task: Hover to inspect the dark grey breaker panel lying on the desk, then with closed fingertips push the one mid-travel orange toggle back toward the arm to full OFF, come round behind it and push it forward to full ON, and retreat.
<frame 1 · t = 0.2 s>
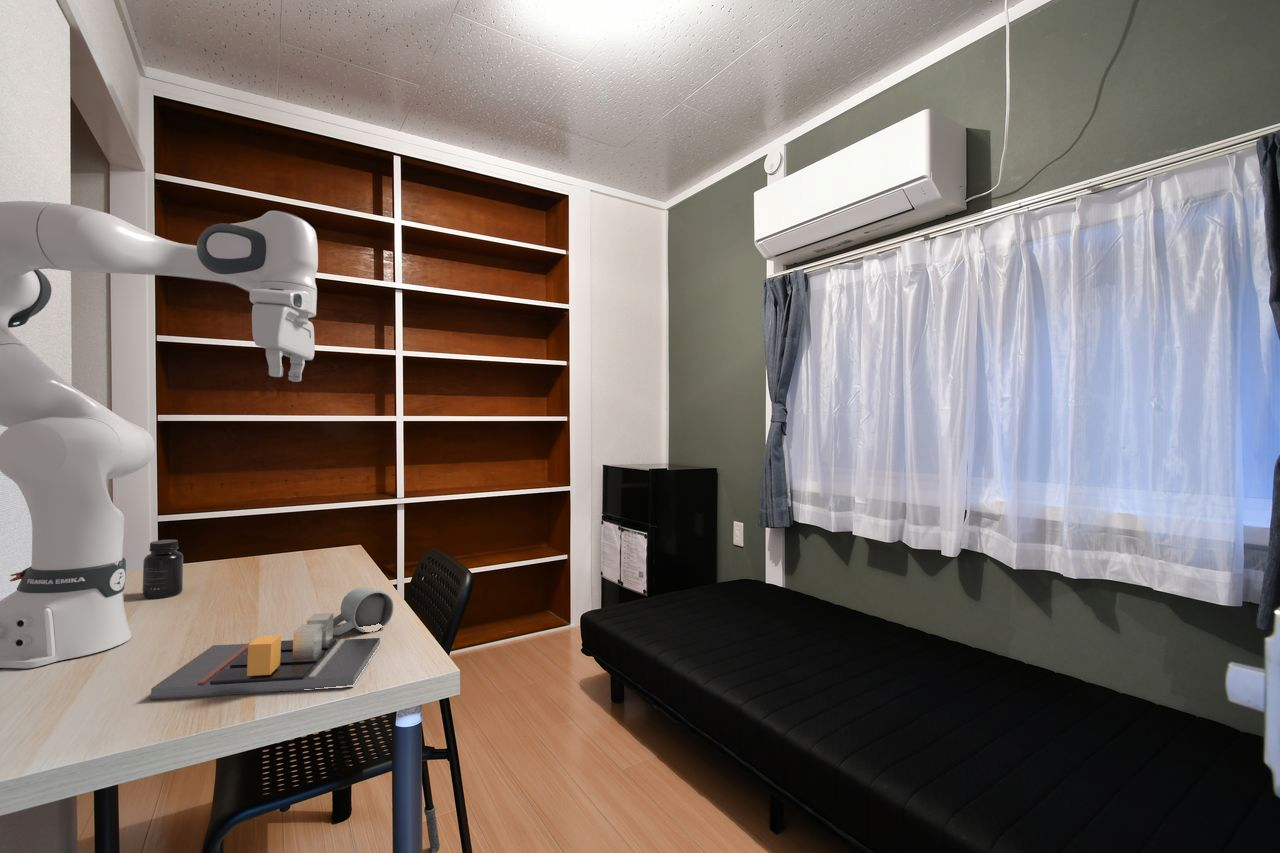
hand: (285, 379, 102), 47 cm above the table, fingers open, 8 cm apart
ceramic mug: (358, 630, 107), on the table
supplement bottle: (162, 595, 124), on the table
tripped toggle: (264, 655, 83), point 5 cm above the table, slide at 4.0 cm
breaker panel: (279, 670, 88), on the table
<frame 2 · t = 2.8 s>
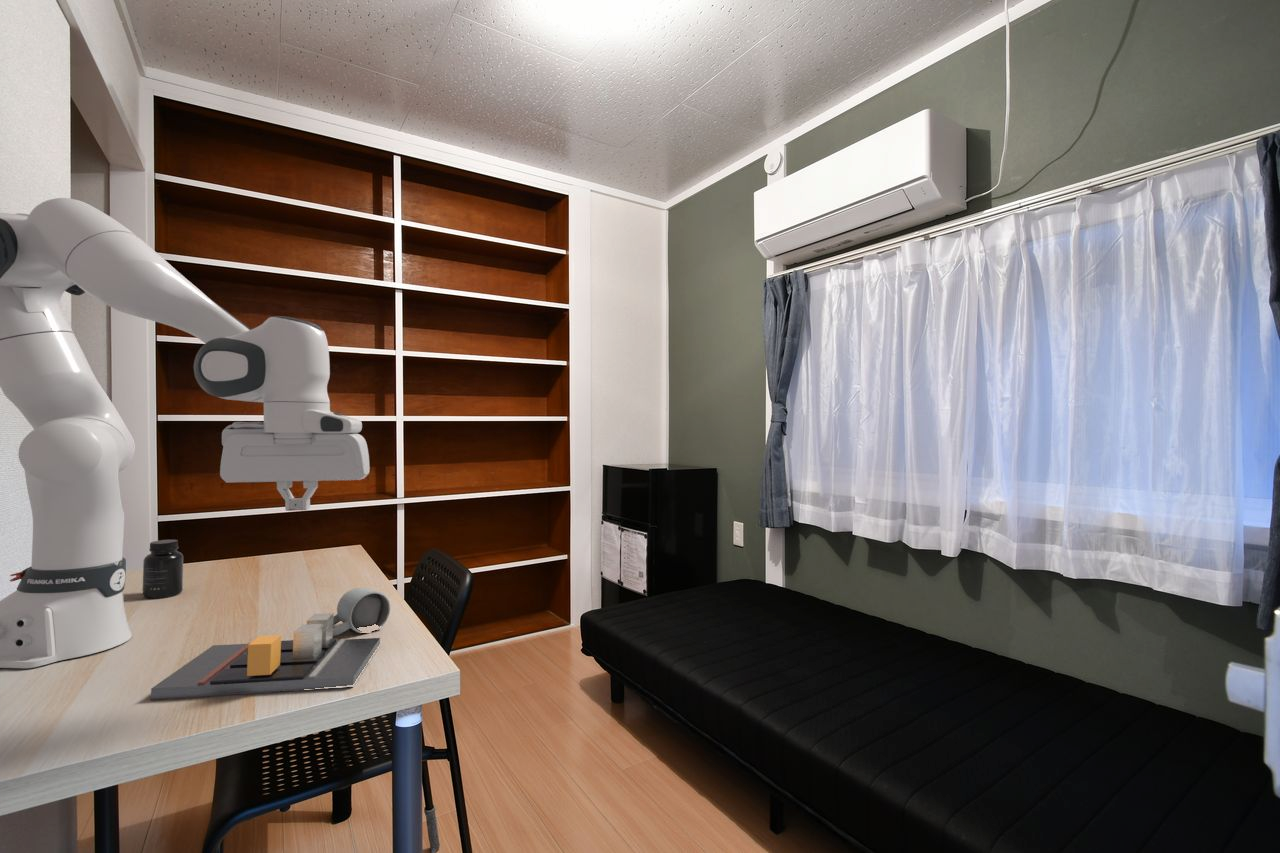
hand: (297, 510, 87), 26 cm above the table, fingers closed
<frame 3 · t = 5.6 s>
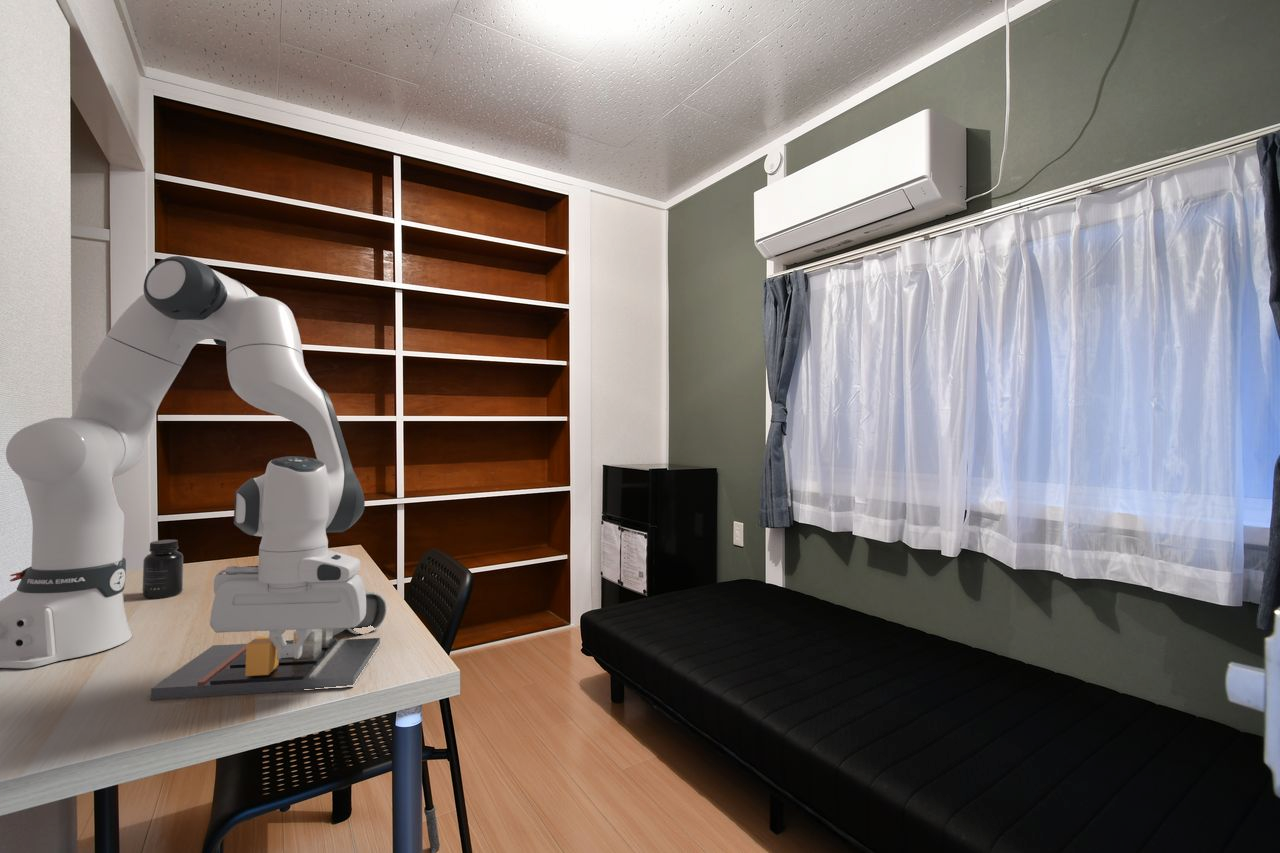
hand: (289, 657, 83), 4 cm above the table, fingers closed
tripped toggle: (262, 655, 83), point 5 cm above the table, slide at 3.8 cm, touching gripper
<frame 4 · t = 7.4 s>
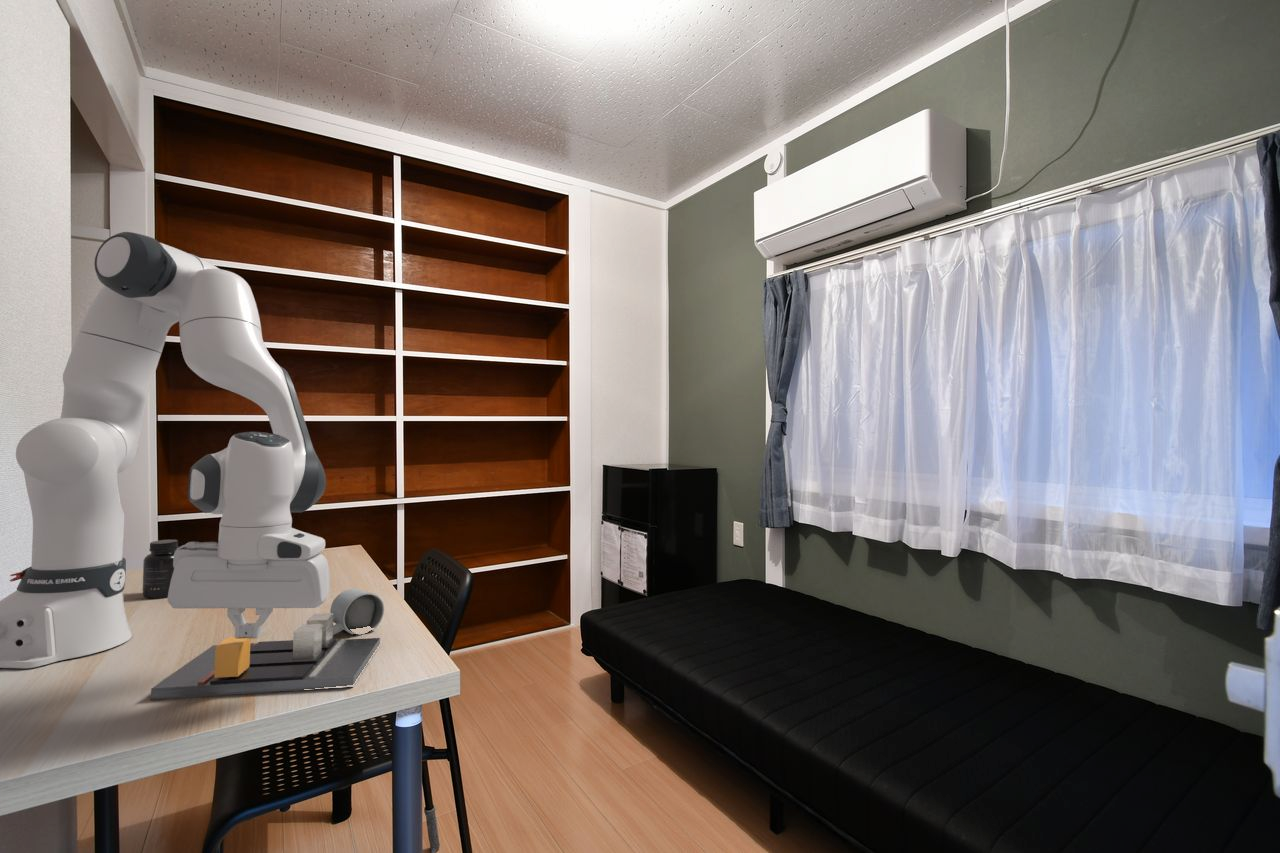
hand: (248, 637, 82), 8 cm above the table, fingers closed
tripped toggle: (232, 656, 82), point 5 cm above the table, slide at -0.1 cm
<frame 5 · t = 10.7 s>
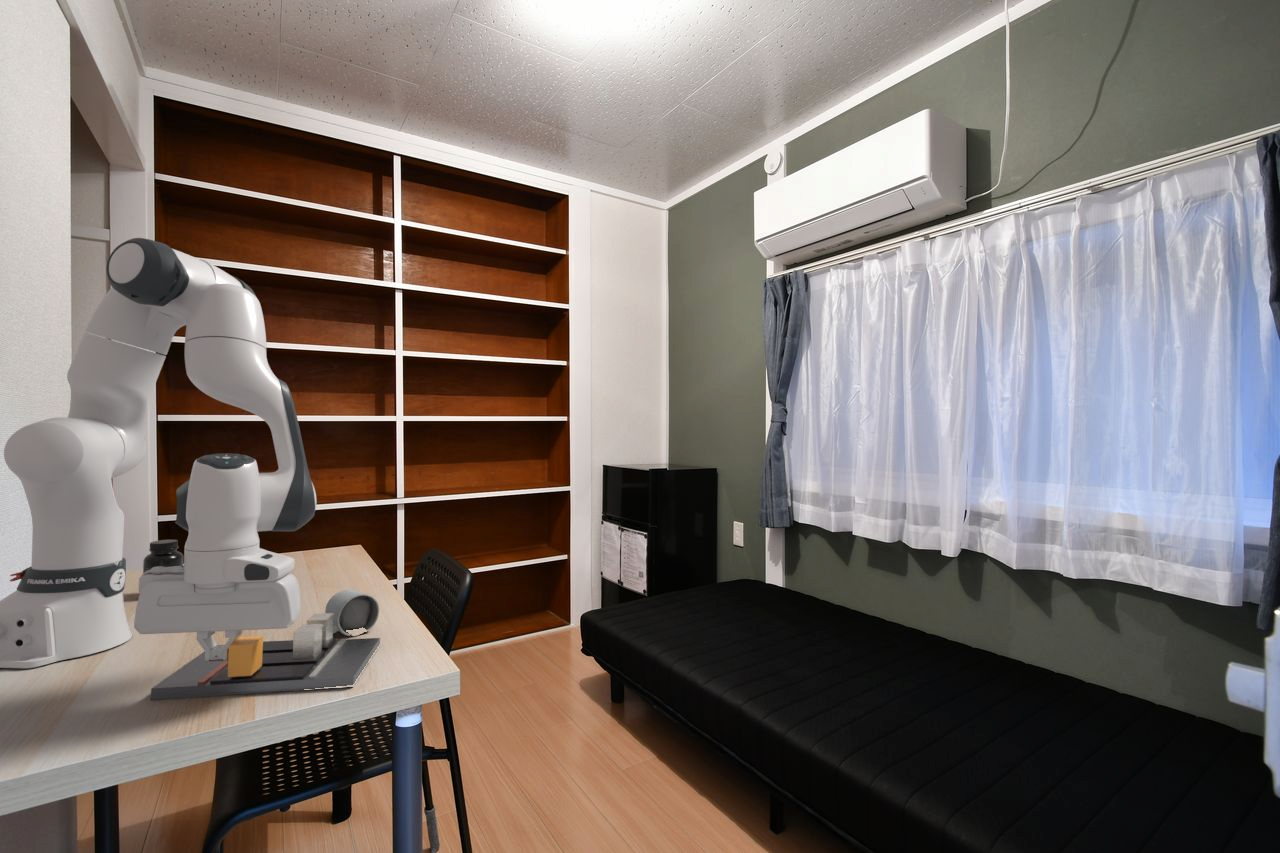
hand: (219, 659, 81), 4 cm above the table, fingers closed
tripped toggle: (245, 655, 82), point 5 cm above the table, slide at 1.5 cm, touching gripper
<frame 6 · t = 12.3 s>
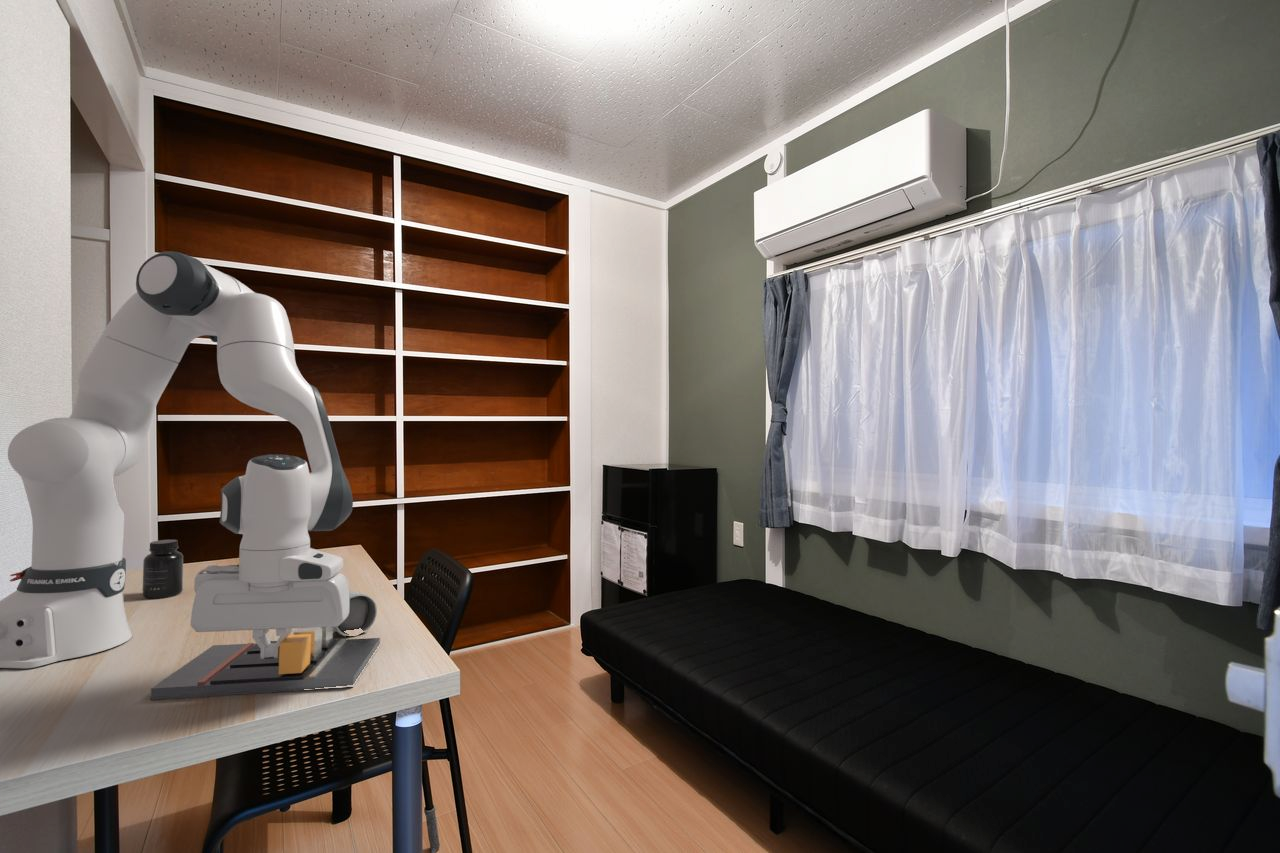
hand: (271, 657, 83), 4 cm above the table, fingers closed
tripped toggle: (295, 653, 84), point 5 cm above the table, slide at 8.1 cm, touching gripper
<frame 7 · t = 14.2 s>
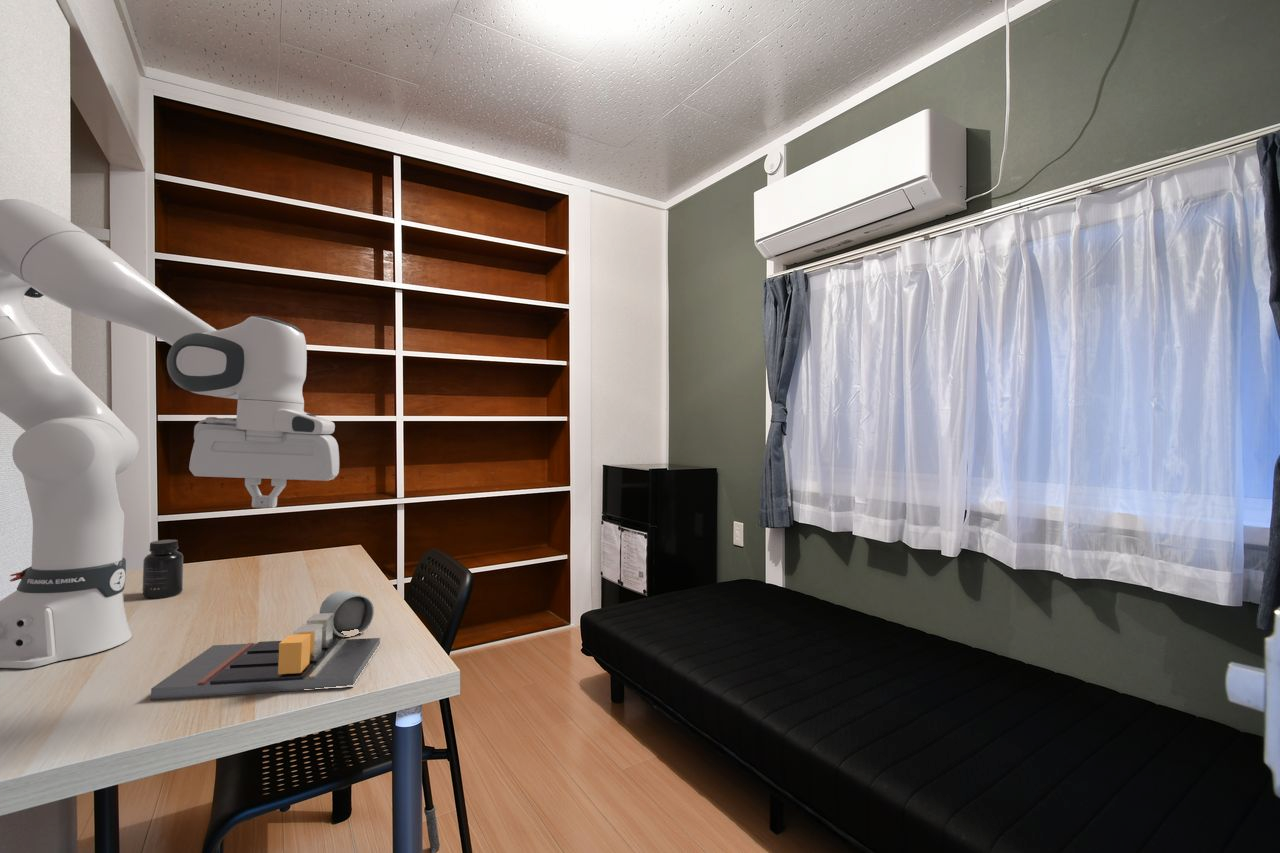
hand: (264, 507, 88), 26 cm above the table, fingers closed
tripped toggle: (294, 653, 84), point 5 cm above the table, slide at 8.1 cm
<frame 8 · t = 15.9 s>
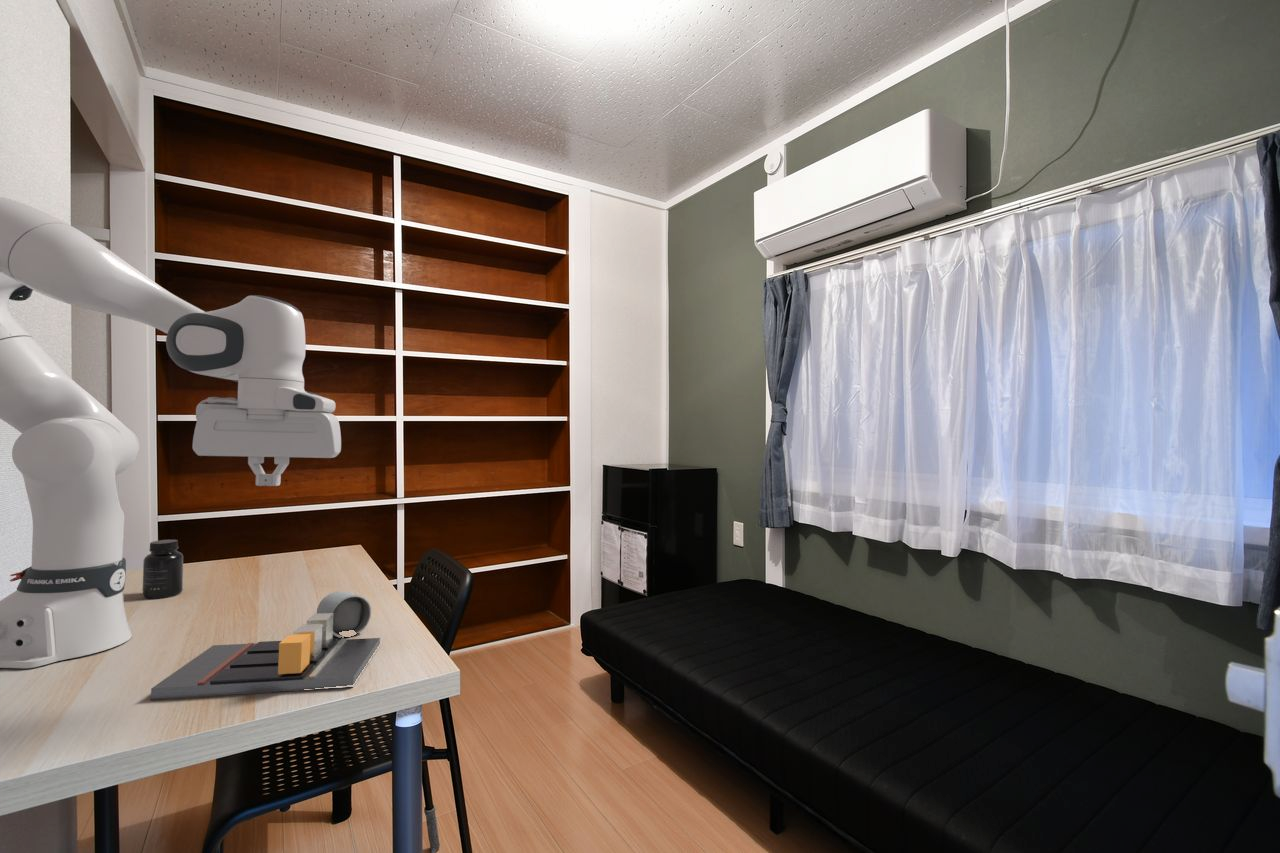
hand: (268, 485, 89), 29 cm above the table, fingers closed
at the end: tripped toggle slide at 8.1 cm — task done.
